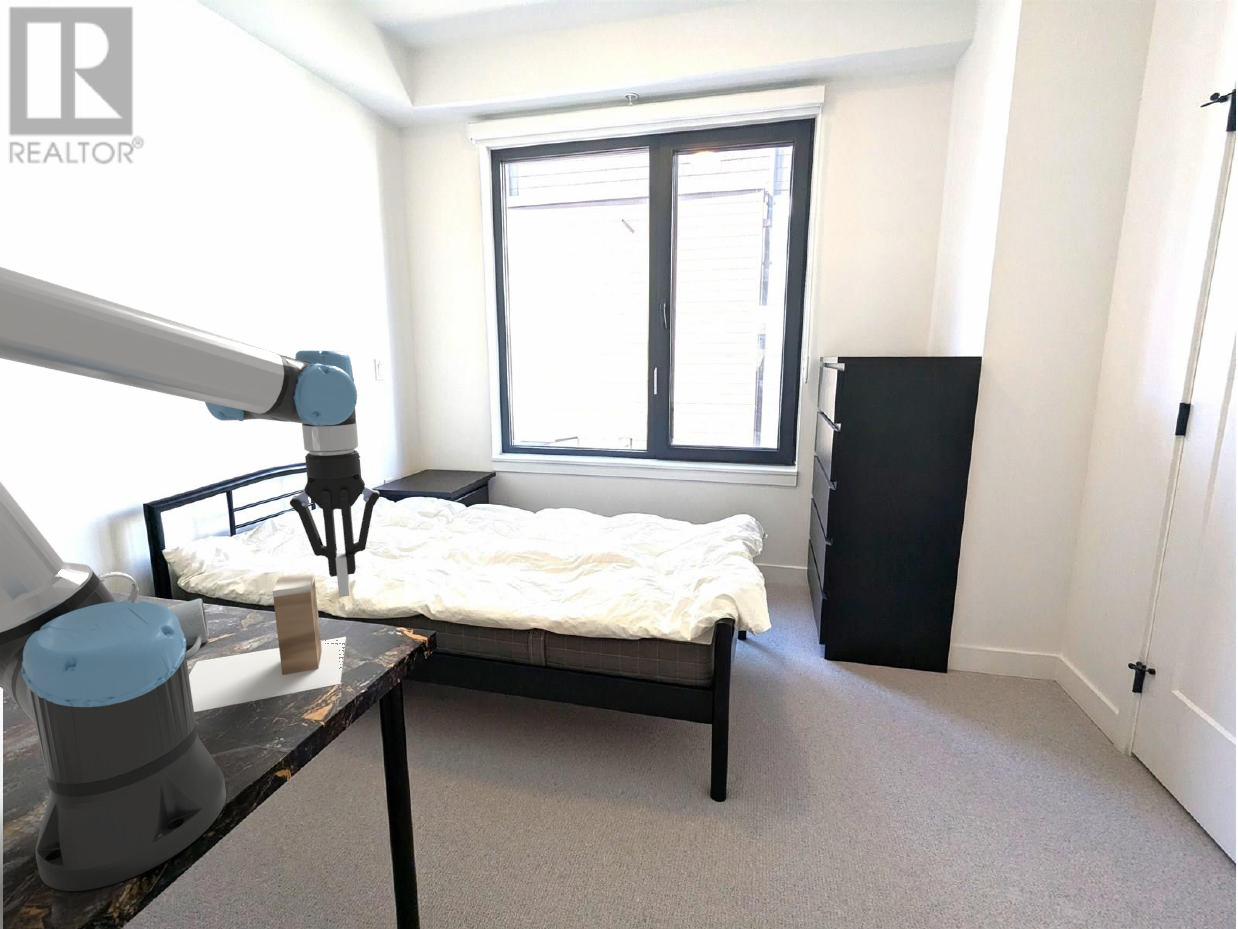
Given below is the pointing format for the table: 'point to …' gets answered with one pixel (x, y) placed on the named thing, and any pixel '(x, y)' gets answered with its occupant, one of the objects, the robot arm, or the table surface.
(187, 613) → the ceramic mug
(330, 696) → the table surface
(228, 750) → the table surface
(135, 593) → the watch
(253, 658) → the white mat
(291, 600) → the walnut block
